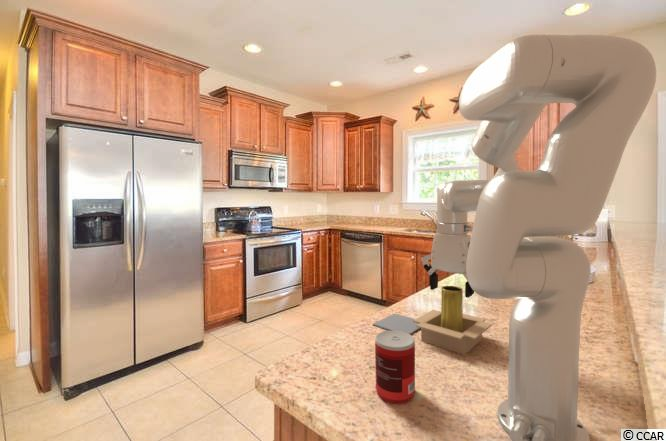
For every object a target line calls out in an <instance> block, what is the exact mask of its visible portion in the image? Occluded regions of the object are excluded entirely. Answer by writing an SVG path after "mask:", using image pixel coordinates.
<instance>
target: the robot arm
mask: <svg viewBox="0 0 666 441" xmlns="http://www.w3.org/2000/svg"><path fill="white" fill-rule="evenodd" d="M656 81H657V65H656V62H655V58H654V56H653V54H652V53H651V52H650V50H649V49H648V48H647V47H646V46H645V45H643V44H642V43H641V42H638V41H635V40H633V39H630V38H627V37H622V36H617V35H616V36H615V35H614V36H613V35H602V34H526V35H522V36H519V37H516V38H514V39H512V40H511V41H509V42H507V43H506V44H504V45H503V46H502V47H500V48H499V49H498V50H497V51H496V52H494V53H493V54H491V55H490V56H489V57H488V58H487V59H485V60H484V61H483V62H482V63H480V65H478V66H477V67H476V68H475V69H474V70H473V71H472V73H471V74H470V75H469V76H468V78H467V79H466V81H465V82H464V85H462V88H461V91H460V94H459V99H458V100H459V101H458V102H459V103H458V107H459V109H458V110H459V112H460V115H461V116H462V118H464V119H465V120H468V121H472V122H473V121H475V122H476V121H478V122H479V121H481V122H480V124H479V126H478V127H477V130H476V132H475V134H474V136H473V138H472V140H471V144H470V145H471V150H472V152H473V154H474V155H475V156H476V157H478V159H480V160H481V161H483V162H485V163H486V164H488V165H491V166H492V167H495V168H497V171H496V172H495V174H494V175H493V177H492V178H491V179H468V180H465V179H463V180H452V181H449V182H442V183H440V184H438V185H437V196H436V201H437V202H436V208H437V209H436V211H437V212H436V233H434V235H433V239H432V245H431V246H432V247H431V253H430V254H427V255H424V256H422V257H420V261H421V263H422V265H423V268H424V270H425V271H426V273H427V275H428V276H429V277H428V278H429V280H428V281H429V282H428V283H429V286H430V287H429V289H430V290H432V291H433V290H436V289H437V288H438V286H439V275H438V273H437V272H438V271H439V272H440V271H441V272H446V273H452V274H457V275H458V274H460V275H463V277H464V278H465V280H467V281H466V282H465V286H464V287H465V290H464V296H465V298H468V299H469V298H470V297H472V296H473V295H474V293H475V294H477V295H478V296H480V297H483V298H485V299H490V300H491V299H492V300H504V299H505V300H510V299H511V300H513V299H516V301H515V303H514V305H513V307H512V309H511V312H510V315H509V316H510V317H509V320H508V322H509V323H508V365H507V366H508V370H507V371H508V373H507V374H508V375H507V376H508V378H507V381H508V382H507V399H504V400H503V401H502V402H501V403H500V404H499V405H498V407H497V418H498V422H499V423H500V425H501V427H502V428H503V430H505V432H506V433H507V434H508V437H509V439H510V440H511V441H590V434H589V431H588V430H587V428H586V427H585V426H584V424H583V423H581V421H580V420H578V404H579V403H578V401H579V399H578V398H579V397H578V396H579V371H580V370H579V368H580V367H579V366H580V364H579V362H580V360H579V359H580V343H581V321H582V311H583V307H584V301H585V298H586V294H587V290H588V287H589V283H590V280H591V264H590V259H589V257H588V255H587V252H586V251H584V249H583V248H582V247H581V246H580V245H578V244H577V243H575V242H574V241H572V240H569V239H566V238H563V236H572V235H579V234H583V233H585V232H588V231H589V230H590V229H592V228H593V227H594V225H595V224H596V223H597V221H598V219H599V217H600V215H601V213H602V210H603V209H604V206H605V202H606V200H607V198H608V195H609V192H610V190H611V187H612V184H613V182H614V179H615V176H616V174H617V171H618V169H619V166H620V163H621V162H622V161H621V159H622V158H623V154H624V151H625V148H626V147H627V144H628V142H629V140H630V137H631V136H632V134H633V132H634V130H635V128H636V126H637V124H638V123H639V121H640V119H641V118H642V116H643V114H644V112H645V110H646V108H647V107H648V104H649V102H650V100H651V97H652V95H653V92H654V90H655V86H656ZM547 104H574V105H575V107H574V108H573V109H572V110H571V111H569V112H568V113H567V114H566V115H565V116H564V117H563V118H562V119H561V120H560V121H559V123H558V124H557V125H556V127H555V128H554V129H553V131H552V132H551V133H550V135H549V136H548V139H547V141H546V144H545V147H544V148H545V149H544V152H543V156H542V159H541V161H540V164H539V166H538V167H537V168H536V169H535V170H520V169H519V164H518V160H517V158H516V157H515V155H516V153H517V151H518V150H519V149H520V147H521V146H522V144H523V142H524V141H525V140H526V138H527V136H528V134H529V133H530V132H531V130H532V128H533V127H534V125H535V123H537V120H538V119H539V117H540V116H541V114H542V112H543V111H544V109H545V108H546V106H547ZM471 212H472V213H473V212H475V215H474V216H475V217H474V220H473V226H472V225H469V222H468V213H471ZM469 232H471V234H468V233H469ZM558 236H559V237H558ZM560 236H561V237H560ZM429 260H430V261H431V262H430V263H429Z"/></svg>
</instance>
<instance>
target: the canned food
mask: <svg viewBox="0 0 666 441" xmlns="http://www.w3.org/2000/svg"><path fill="white" fill-rule="evenodd" d="M374 341H375V342H374V344H375V345H374V352H375V353H374V355H375V360H374V361H375V362H374V364H375V366H374V368H375V390H376V392H377V395H378V397H379V398H381V399H382V400H383V401H385V402H387V403H390V404H396V405H397V404H398V405H401V404H405V403H408V402H411V400H412V399H413V397H414V394H415V391H416V346H415V345H416V344H415V343H416V342H415V338H414V336H413V335H412V334H411V335H410V334H408V333H405V332H402V331H396V330H389V331H388V330H384V331H381V332H379V333H377V334H376V335H375V340H374Z"/></svg>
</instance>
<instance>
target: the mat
mask: <svg viewBox="0 0 666 441" xmlns="http://www.w3.org/2000/svg"><path fill="white" fill-rule="evenodd" d="M415 319H416V318H413V317H409V316H405V315H403V314H399V313H393V314H392V315H388V316H387V317H384V318H382V319H381V320H378V321H376V322H374V323H372V327H376V328H380V329H383V330H384V331H389V330H396V331H402V332H405V333H408V334H410V335H411V336H412V335H413V334H414V333H416V332H418V331H419V330H420V331H421V328H418V327H416V325H418V324H419V323H415V322H413V320H415Z"/></svg>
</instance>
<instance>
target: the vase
mask: <svg viewBox="0 0 666 441" xmlns="http://www.w3.org/2000/svg"><path fill="white" fill-rule="evenodd" d="M463 292H464V290H463V288H462V287H460V286H455V285H445V286H441V302H440V303H441V305H440V307H441V308H440V311H441V327H443V328H446V329H450V330H454V331H457V332H461V333H463V314H464V312H463V310H464V309H463V308H464V307H463V304H464V303H463V300H464V299H463V298H464V297H463Z"/></svg>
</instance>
